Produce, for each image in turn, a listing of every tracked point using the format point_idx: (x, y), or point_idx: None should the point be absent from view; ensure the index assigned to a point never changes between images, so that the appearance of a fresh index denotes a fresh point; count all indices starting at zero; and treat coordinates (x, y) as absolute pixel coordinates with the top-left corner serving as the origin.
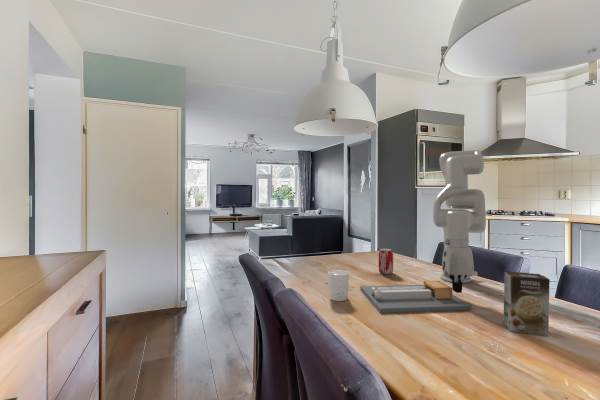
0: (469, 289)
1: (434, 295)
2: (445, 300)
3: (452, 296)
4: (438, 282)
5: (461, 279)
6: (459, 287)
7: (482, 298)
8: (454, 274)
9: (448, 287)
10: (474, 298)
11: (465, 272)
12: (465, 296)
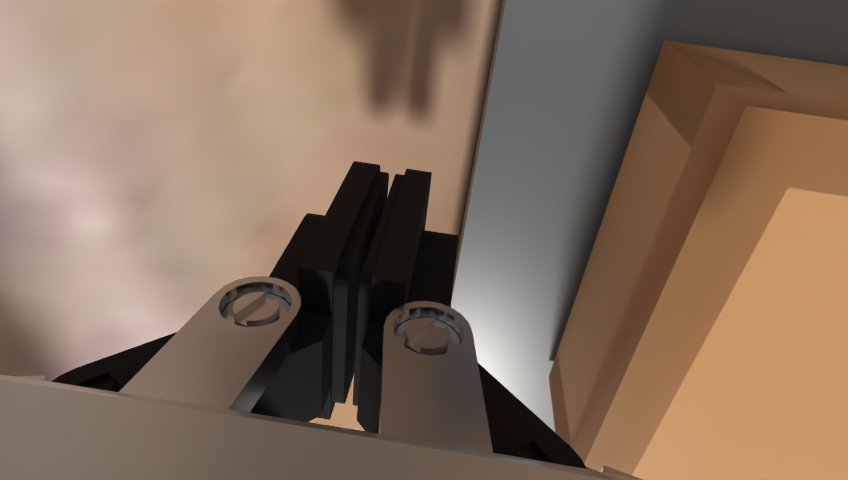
0: (70, 370)
1: None
2: None
3: (537, 150)
4: (666, 452)
5: (272, 327)
6: (370, 223)
7: (43, 100)
8: (606, 476)
9: (806, 158)
10: (156, 125)
11: (19, 454)
12: (238, 215)
